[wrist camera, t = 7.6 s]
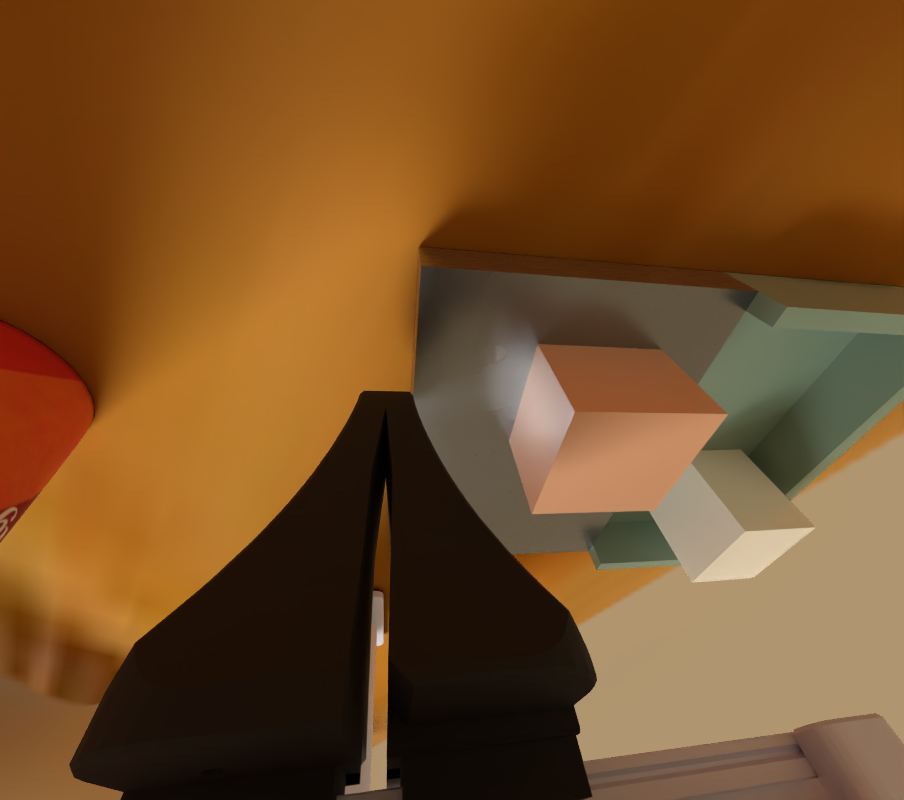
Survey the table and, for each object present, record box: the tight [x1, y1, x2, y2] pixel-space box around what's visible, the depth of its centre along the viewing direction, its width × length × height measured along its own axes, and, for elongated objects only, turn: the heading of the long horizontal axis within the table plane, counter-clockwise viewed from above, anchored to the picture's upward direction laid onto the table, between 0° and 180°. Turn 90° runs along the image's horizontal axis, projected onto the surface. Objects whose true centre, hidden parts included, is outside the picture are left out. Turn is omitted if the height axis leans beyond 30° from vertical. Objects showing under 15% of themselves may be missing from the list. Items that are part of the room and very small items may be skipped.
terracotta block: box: [509, 344, 728, 514], centre depth 11 cm, size 4×4×3 cm
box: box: [589, 272, 904, 570], centre depth 15 cm, size 7×14×2 cm, turn 174°
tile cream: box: [649, 449, 815, 582], centre depth 16 cm, size 4×4×3 cm
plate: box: [411, 247, 759, 554], centre depth 15 cm, size 10×14×2 cm
